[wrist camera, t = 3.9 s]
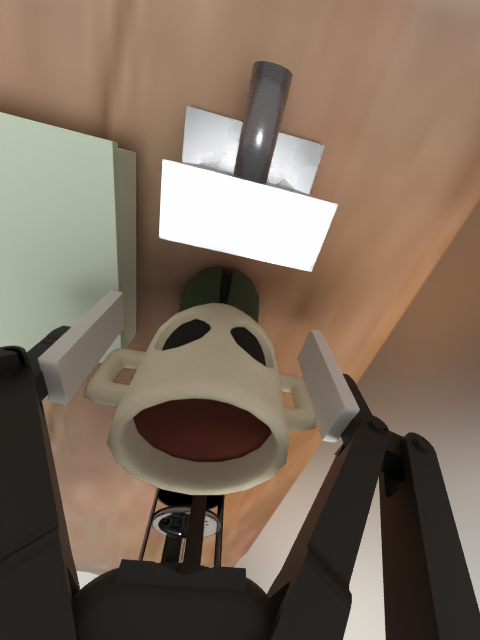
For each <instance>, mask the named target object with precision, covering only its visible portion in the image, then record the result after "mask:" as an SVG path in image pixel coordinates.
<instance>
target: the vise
mask: <svg viewBox="0 0 480 640" xmlns="http://www.w3.org/2000/svg"><path fill="white" fill-rule="evenodd" d="M292 77H293V75H292V73H291V72H290V71H289V70H288V69H286V68H284V67H282V66H280V65H278V64H275V63H271V62H265V61H259V62H255V63H254V64H253V68H252V74H251V79H250V85H249V91H248V96H247V102H246V107H245V113H244V118H243V122H242V121H238V120H235V119H231V118H228V117H224V116H221V115H217V114H214V113H210V112H207V111H203V110H200V109H196V108H193V107H189V106H187V107H186V119H185V131H184V143H183V155H182V162H180V161H173V160H166V159H163V162H162V183H161V204H160V225H159V238H161V239H166V240H170V241H175V242H179V243H184V244H188V245H193V246H197V247H202V248H206V249H211V250H215V251H220V252H224V253H229V254H233V255H238V256H242V257H247V258H251V259H256V260H260V261H265V262H269V263H274V264H278V265H283V266H288V267H292V268H297V269H301V270H306V271H310V272H312V269H313V267H314V264H315V262H316V259H317V257H318V254H319V252H320V249H321V246H322V244H323V241H324V239H325V236H326V234H327V231H328V229H329V226H330V224H331V221H332V219H333V216H334V214H335V211H336V209H337V206H338V204H335V203H332V202H330V201H327V200H324V199H321V198H318V197H315V196H313V195H310V194H309V192H310V189H311V186H312V183H313V180H314V177H315V174H316V171H317V168H318V165H319V162H320V159H321V156H322V153H323V150H324V147H325V145H322V144H318V143H315V142H311V141H308V140H304V139H301V138H297V137H294V136H290V135H287V134H283V133H280V132H279V130H280V126H281V121H282V117H283V113H284V109H285V105H286V101H287V97H288V93H289V89H290V85H291V81H292Z"/></svg>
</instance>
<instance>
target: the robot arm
mask: <svg viewBox="0 0 480 640" xmlns="http://www.w3.org/2000/svg"><path fill="white" fill-rule="evenodd" d="M123 328H124V302H123V292H117V291H112V290H111V291H110V292H109V293H107V294H106V295H105V296H104V297H103V298H102V299H101V300H100V301H99V302H98V303H97V304H96V305H95V306H94V307H92V308H91V309H90V310H89V311H88V312H87V313H86V314H85V315H84V316H83V317H82V318H81V319H80V320H79V321H77V322H76V323H75V324H74V325H73V326H72V327H70V326H64V325H63V326H61V327H59V328H56V329H54V330H52V331H51V332H50V333H49V334H48V335H47V336H46V337H44V338H43V339H42V340H41V341H40V343H37V344H36V345H35V346H34V347H33V348H31V349H30V350H29V351H28V352H26V350H25V349H24V348H22V347H20V346H3V347H0V640H343V637H344V633H345V629H346V625H347V621H348V617H349V613H350V608H351V603H352V594H351V593H350V591H349V583H350V579H351V575H352V572H353V568H354V564H355V561H356V557H357V553H358V550H359V546H360V542H361V538H362V535H363V531H364V528H365V524H366V520H367V517H368V513H369V510H370V506H371V502H372V498H373V495H374V491H375V488H376V484H377V480H378V477H379V489H380V490H379V491H380V512H381V513H380V514H381V538H382V561H383V583H384V606H385V607H384V608H385V631H386V640H480V612H479V608H478V604H477V601H476V597H475V594H474V590H473V586H472V582H471V579H470V575H469V572H468V568H467V564H466V561H465V557H464V553H463V550H462V546H461V542H460V539H459V535H458V531H457V528H456V524H455V521H454V517H453V513H452V510H451V506H450V502H449V499H448V495H447V492H446V488H445V484H444V481H443V477H442V473H441V469H440V466H439V462H438V459H437V455H436V452H435V450H434V448H433V446H432V445H431V444H430V443H429V442H428V441H427V440H426V439H425V438H424V437H422V436H420V435H419V434H416V433H408V434H406V436H405V437H402V436H400V435H398V434H395V433H393V432H391V431H389V429H388V427H387V426H386V424H385V423H384V422H383V421H381V420H380V419H379V418H377V417H375V416H373V415H372V413H371V412H370V410H369V408H368V406H367V404H366V402H365V400H364V398H363V397H362V396H361V393H360V391H359V390H358V387H357V385H356V383H355V382H354V380H353V379H352V378H351V377H350V376H349V375H347V374H342V372H341V370H340V368H339V366H338V364H337V362H336V360H335V358H334V356H333V354H332V352H331V350H330V348H329V346H328V344H327V342H326V340H325V338H324V336H323V334H322V332H321V331H318V330H313V329H311V330H310V333H309V335H308V337H307V339H306V341H305V343H304V346H303V348H302V350H301V352H300V354H299V357H298V361H299V364H300V367H301V371H302V374H303V378H304V381H305V383H306V384H307V387H308V390H309V394H310V397H311V400H312V403H313V407H314V410H315V413H316V421H317V424H318V428H319V431H320V434H321V438H322V441H329V442H336V441H337V440H338V439H339V437H340V436H341V438H342V440H343V444H342V445H341V447H340V448H339V449H338V450H337V452H336V453H335V455H336V457H335V459H334V461H333V463H332V465H331V468H330V470H329V472H328V474H327V476H326V478H325V480H324V482H323V484H322V486H321V488H320V491H319V492H318V494H317V497H316V499H315V501H314V503H313V505H312V507H311V509H310V511H309V513H308V515H307V517H306V520H305V521H304V524H303V526H302V528H301V530H300V532H299V534H298V536H297V538H296V540H295V542H294V544H293V546H292V548H291V551H290V553H289V555H288V557H287V559H286V561H285V563H284V565H283V567H282V569H281V571H280V573H279V574H278V576H277V577H276V579H275V581H274V582H273V584H272V586H271V587H270V589H269V591H268V593H267V594H266V593H265V592H264V591H263V590H262V589H261V588H260V587H259V586H258V585H257V584H256V583H254V582H253V581H252V580H250V579H248V578H246V569H245V568H233V567H219V566H216V567H213V568H209V569H206V570H203V571H199V572H196V573H192V574H189V575H181V574H179V573H176V572H174V571H172V570H170V569H168V568H166V567H164V566H162V565H160V564H157V563H155V562H152V561H138V560H125V559H122V560H121V564H120V567H119V568H116V569H113V570H110V571H108V572H106V573H104V574H102V575H100V576H99V577H97V578H95V579H94V580H92V581H91V582H90V583H88V584H87V585H85V586H84V587H83V588H82V589H81V590H80V586H79V582H78V577H77V572H76V568H75V564H74V560H73V556H72V552H71V547H70V542H69V537H68V531H67V526H66V521H65V516H64V511H63V506H62V501H61V496H60V491H59V485H58V480H57V475H56V470H55V465H54V460H53V455H52V450H51V444H50V439H49V434H48V429H47V424H46V419H45V414H44V409H43V404H42V400H43V399H44V398H45V397H46V396H47V394H48V397H49V400H50V402H51V403H58V404H65V405H67V404H68V403H69V402H70V400H71V399H72V398H73V396H74V395H75V394H76V392H77V391H78V389H79V388H80V387H81V385H82V384H83V383H84V381H85V380H86V379H87V377H88V376H89V375H90V373H91V372H92V370H93V369H94V368H95V366H96V365H97V364H98V362H99V361H100V360H101V358H102V357H103V356H104V354H105V353H106V351H107V350H108V349H109V347H110V346H111V345H112V343H113V342H114V341H115V339H116V338H117V337H118V335H119V334H120V332H121V331H122V330H123Z"/></svg>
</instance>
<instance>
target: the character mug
mask: <svg viewBox="0 0 480 640" xmlns="http://www.w3.org/2000/svg"><path fill="white" fill-rule="evenodd" d="M221 273H222V268H219V267H216V268H212V269H208V270H205V271H201V272H200V273H199V274H197V275H196V276H195V277H194V278H193V279H192V280H190V281H189V282H188V284H187V286H186V289H185V292H184V294H183V297H182V300H181V304H180V309H179V313H176V314H174V315H173V316H172V317H171V318H170V319H169V320H167V321H166V322H165V323H164V324H163V325H162V326H161V327H159V329H158V330H157V332H156V334H155V336H154V338H153V339H152V341H151V343H150V345H149V347H148V349H147V351H146V352H143V351H137V350H131V349H115V350H113V351H112V352H111V353H109V354H108V356H107V357H106V359H105V360H104V361H103V363H102V364H101V366H100V367H99V368H98V370H97V371H96V373H95V374H94V375H93V377H92V378H91V380H90V381H89V383H88V385H87V386H86V389H85V393H84V397H85V398H87V399H88V400H90V401H92V402H94V403H96V404H102V405H109V406H117V410H116V413H115V416H114V419H113V422H112V425H111V429H110V433H109V436H108V440H107V444H108V446H109V448H110V450H111V452H112V454H113V456H114V458H115V461H116V462H117V463H118V464H119V465H120V466H122V467H123V468H124V469H125V470H127V471H128V472H129V473H130V474H131V475H133V476H134V477H135V478H137V479H139V480H141V481H144V482H146V483H148V484H151V485H153V486H156V487H158V488H160V489H163V490H168V491H173V492H179V493H184V494H189V495H223V494H228V493H233V492H238V491H243V490H248V489H250V488H252V487H254V486H256V485H259V484H261V483H263V482H265V481H267V480H269V479H271V478H272V477H273V476H274V475H275V474H276V473H277V472H278V471H279V470H280V469H281V468H282V467H283V466H284V465H285V464H286V460H287V454H288V447H289V429H292V430H299V431H305V430H309V429H313V428H316V413H315V410H314V407H313V403H312V400H311V397H310V394H309V390H308V387H307V384H306V383H305V381H304V380H303V378H301V377H298V376H296V375H290V374H284V373H279V372H278V367H277V362H276V356H275V351H274V347H273V344H272V343H271V341H270V340H269V338H268V336H267V334H266V332H265V330H264V329H263V328H262V327H261V326H260V325H259V324H258V313H259V296H258V294H257V292H256V290H255V288H254V286H253V284H252V282H251V281H250V280H249V279H247V278H246V277H245V276H244V275H242V274H241V273H240V272H238V271H234V270H233V276H232V280H231V279H229V278H227V277H221ZM123 368H129V369H136V370H137V371H136V373H135V375H134V377H133V379H132V381H131V383H130V385H127V384H119V383H113V382H114V381H115V379H116V377H117V376H118V374H119V372H120V371H121V370H122V369H123ZM282 391H284V392H289V393H291V395H292V398H293V402H294V407H295V408H289V407H284V403H283V396H282Z"/></svg>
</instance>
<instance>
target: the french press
mask: <svg viewBox="0 0 480 640" xmlns="http://www.w3.org/2000/svg"><path fill="white" fill-rule="evenodd" d="M224 498H225V494H223V495H189V494H184V493H179V492H173V491H168V490H163V489H160V488H158V487H157V490H156V494H155V498H154V502H153V506H152V510H151V514H150V517H149V521H148V525H147V529H146V533H145V537H144V540H143V544H142V548H141V552H140V556H139V560H138V561H142V560H143V556H144V552H145V548H146V544H147V540H148V536H149V532H150V528H151V526H152V528H153V529H155V530H156V531H157V532H159V533H161V534H164V535H166V539H165V544H164V549H163V554H162V559H161V563H157V564H160V565H162V566H164V567H166V568H168V569H170V570H172V571H174V572H176V573H179V574H181V575H189V574H192V573H196V572H199V571H203V570H206V569H209V567H205V566H201V565H200V564H201V554H202V544H203V538H204V537H208V536H211V535H213V534H216V542H215V557H214V567H216V566H219V567H221V551H222V530H223V510H224ZM157 500H159V501H160V502H162V503H163V504H164V505H166V506H168V507H165V508H162V509H160V510H158V511H157V512H155V508H156V504H157ZM217 506H218V512H217V515H216V514H215V513H214V512H212V511H210V510H209V509H212V508H215V507H217ZM154 512H155V513H154ZM185 540H186V546H185ZM181 543H182V546H181ZM184 547H185V553H184ZM180 550H181V552H180ZM183 553H184V560H183ZM179 556H180V558H179ZM182 560H183V563H182ZM178 562H179V563H178Z"/></svg>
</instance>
